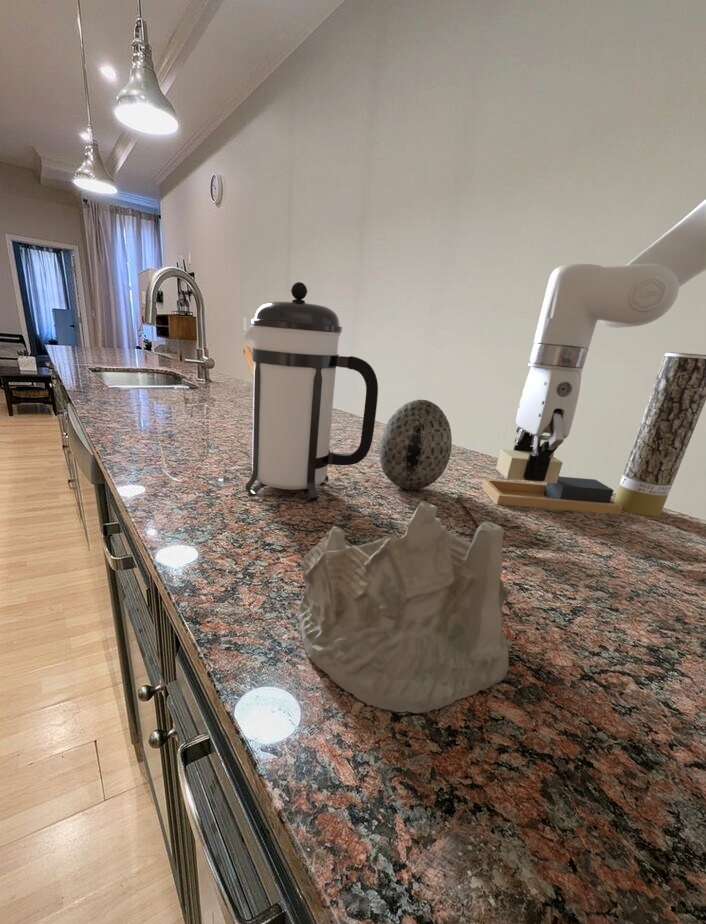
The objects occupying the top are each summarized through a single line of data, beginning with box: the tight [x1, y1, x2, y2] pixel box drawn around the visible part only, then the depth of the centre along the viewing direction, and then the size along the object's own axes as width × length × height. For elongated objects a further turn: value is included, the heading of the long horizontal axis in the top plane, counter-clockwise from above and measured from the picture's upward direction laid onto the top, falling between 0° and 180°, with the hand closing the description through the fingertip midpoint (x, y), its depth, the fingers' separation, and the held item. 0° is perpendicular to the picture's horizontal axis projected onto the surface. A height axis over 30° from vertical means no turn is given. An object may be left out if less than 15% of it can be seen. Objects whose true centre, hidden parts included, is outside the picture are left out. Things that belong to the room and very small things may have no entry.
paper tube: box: [613, 351, 706, 518], centre depth 70 cm, size 7×7×25 cm
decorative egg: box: [378, 399, 453, 491], centre depth 75 cm, size 12×12×15 cm
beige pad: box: [495, 448, 563, 484], centre depth 73 cm, size 8×6×4 cm
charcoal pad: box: [544, 476, 615, 503], centre depth 74 cm, size 8×6×4 cm
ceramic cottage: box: [296, 501, 512, 714], centre depth 36 cm, size 16×16×15 cm
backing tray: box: [481, 478, 623, 516], centre depth 75 cm, size 20×9×2 cm, turn 88°
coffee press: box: [243, 281, 379, 503], centre depth 67 cm, size 17×16×30 cm
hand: (526, 473), depth 74 cm, fingers closed on beige pad, 5 cm apart
